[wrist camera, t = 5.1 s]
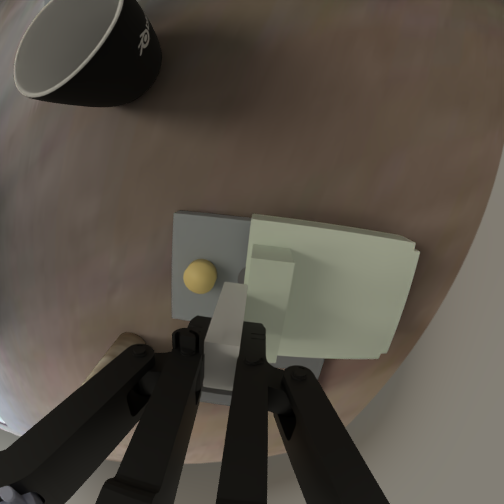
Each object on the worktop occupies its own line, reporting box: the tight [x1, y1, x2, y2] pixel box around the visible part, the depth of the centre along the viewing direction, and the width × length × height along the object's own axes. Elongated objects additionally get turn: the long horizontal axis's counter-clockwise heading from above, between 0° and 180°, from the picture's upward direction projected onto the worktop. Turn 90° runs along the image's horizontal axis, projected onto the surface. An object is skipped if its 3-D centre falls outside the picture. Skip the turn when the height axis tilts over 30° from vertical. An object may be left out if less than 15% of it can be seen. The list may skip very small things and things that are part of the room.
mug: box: [14, 0, 162, 107], centre depth 13 cm, size 12×9×10 cm
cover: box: [244, 214, 420, 363], centre depth 19 cm, size 13×10×5 cm
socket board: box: [200, 355, 325, 406], centre depth 25 cm, size 14×8×1 cm, turn 84°
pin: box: [81, 332, 146, 386], centre depth 21 cm, size 4×4×9 cm
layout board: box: [172, 210, 251, 321], centre depth 21 cm, size 12×9×3 cm
